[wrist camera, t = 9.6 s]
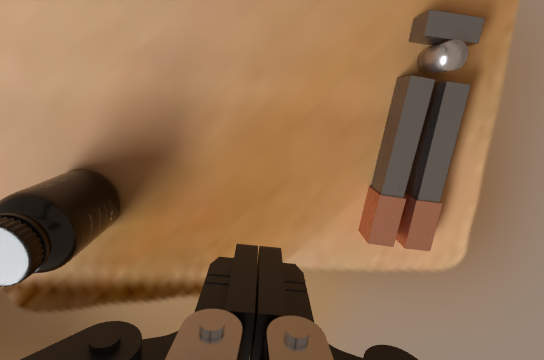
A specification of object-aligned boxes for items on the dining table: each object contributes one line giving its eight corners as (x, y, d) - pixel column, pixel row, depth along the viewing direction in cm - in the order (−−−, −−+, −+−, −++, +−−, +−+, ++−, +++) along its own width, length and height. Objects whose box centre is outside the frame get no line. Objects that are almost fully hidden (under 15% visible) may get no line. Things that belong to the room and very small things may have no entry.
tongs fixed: (413, 18, 30) (436, 6, 26) (468, 26, 30) (499, 15, 26) (367, 232, 35) (381, 249, 31) (415, 237, 35) (434, 254, 31)
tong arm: (395, 77, 31) (409, 74, 28) (421, 81, 31) (438, 79, 28) (358, 230, 34) (367, 243, 31) (381, 233, 35) (393, 246, 31)
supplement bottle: (49, 219, 33) (-67, 283, 22) (62, 159, 32) (-55, 192, 20) (114, 240, 34) (36, 312, 22) (129, 181, 33) (54, 226, 21)
